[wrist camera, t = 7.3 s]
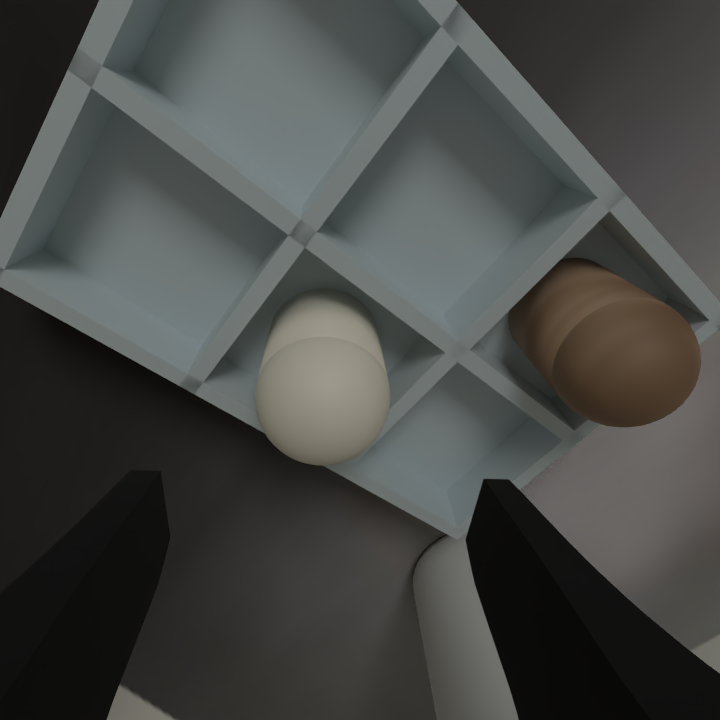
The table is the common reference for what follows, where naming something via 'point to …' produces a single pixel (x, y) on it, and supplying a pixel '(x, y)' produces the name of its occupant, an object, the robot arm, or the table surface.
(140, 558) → the robot arm
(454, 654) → the milk bottle
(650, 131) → the table surface
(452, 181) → the egg carton
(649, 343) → the walnut egg
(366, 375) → the cream egg
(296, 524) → the table surface
